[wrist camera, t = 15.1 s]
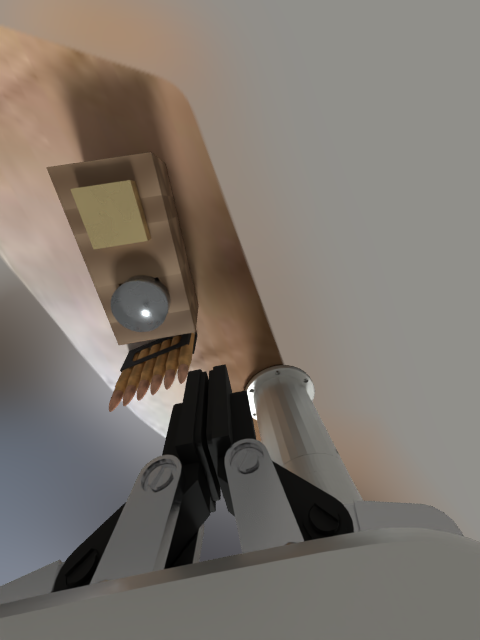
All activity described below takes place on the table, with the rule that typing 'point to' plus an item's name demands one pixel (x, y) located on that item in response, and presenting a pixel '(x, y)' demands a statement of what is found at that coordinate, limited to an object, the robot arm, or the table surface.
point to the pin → (141, 303)
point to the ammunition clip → (154, 367)
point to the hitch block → (136, 258)
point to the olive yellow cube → (112, 214)
